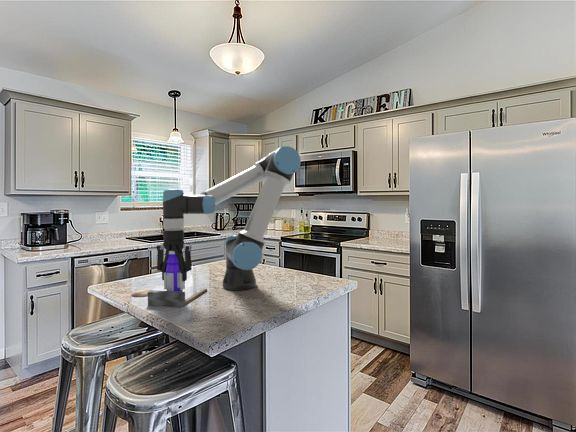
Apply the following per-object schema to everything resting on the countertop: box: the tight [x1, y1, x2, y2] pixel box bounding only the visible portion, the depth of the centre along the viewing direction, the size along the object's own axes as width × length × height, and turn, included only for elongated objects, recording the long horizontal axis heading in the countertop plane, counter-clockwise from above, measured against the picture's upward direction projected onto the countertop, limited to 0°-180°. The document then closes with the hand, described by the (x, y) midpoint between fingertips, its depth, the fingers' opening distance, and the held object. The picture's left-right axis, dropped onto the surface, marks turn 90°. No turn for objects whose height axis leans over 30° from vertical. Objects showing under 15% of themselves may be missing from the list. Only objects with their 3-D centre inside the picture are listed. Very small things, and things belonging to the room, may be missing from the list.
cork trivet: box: [131, 289, 155, 298], centre depth 139 cm, size 9×9×1 cm
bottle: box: [165, 251, 184, 292], centre depth 129 cm, size 7×6×17 cm
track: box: [147, 288, 208, 308], centre depth 132 cm, size 14×22×5 cm, turn 171°
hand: (174, 288), depth 129 cm, fingers closed on bottle, 6 cm apart
